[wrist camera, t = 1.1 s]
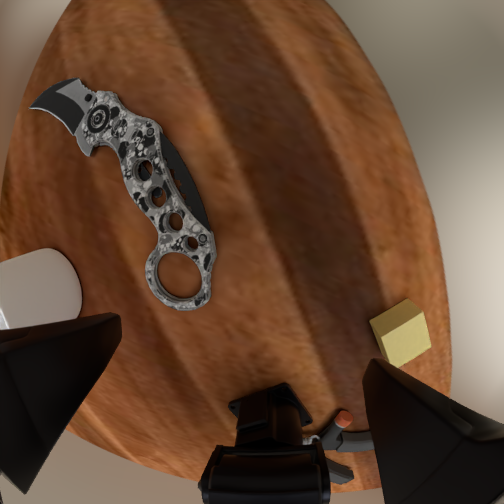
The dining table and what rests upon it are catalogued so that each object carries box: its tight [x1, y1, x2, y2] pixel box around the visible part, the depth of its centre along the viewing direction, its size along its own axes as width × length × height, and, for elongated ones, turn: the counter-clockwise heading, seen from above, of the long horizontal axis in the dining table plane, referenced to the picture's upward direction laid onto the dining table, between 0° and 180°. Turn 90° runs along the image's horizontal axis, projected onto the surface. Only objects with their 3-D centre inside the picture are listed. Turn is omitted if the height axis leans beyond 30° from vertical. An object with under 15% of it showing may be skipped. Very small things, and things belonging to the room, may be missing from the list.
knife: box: [29, 78, 217, 311], centre depth 19 cm, size 28×2×10 cm
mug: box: [0, 248, 82, 330], centre depth 18 cm, size 12×8×10 cm
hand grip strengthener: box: [303, 411, 374, 485], centre depth 23 cm, size 2×12×15 cm
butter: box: [369, 298, 431, 368], centre depth 19 cm, size 4×4×3 cm
